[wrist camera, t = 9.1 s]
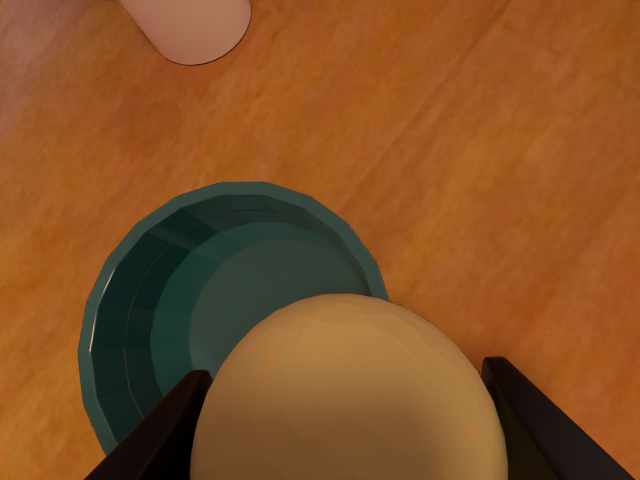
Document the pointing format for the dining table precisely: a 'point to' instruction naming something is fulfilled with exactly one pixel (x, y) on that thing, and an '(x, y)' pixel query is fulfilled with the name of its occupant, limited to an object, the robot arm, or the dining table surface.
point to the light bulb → (347, 401)
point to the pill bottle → (191, 26)
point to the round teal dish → (205, 290)
